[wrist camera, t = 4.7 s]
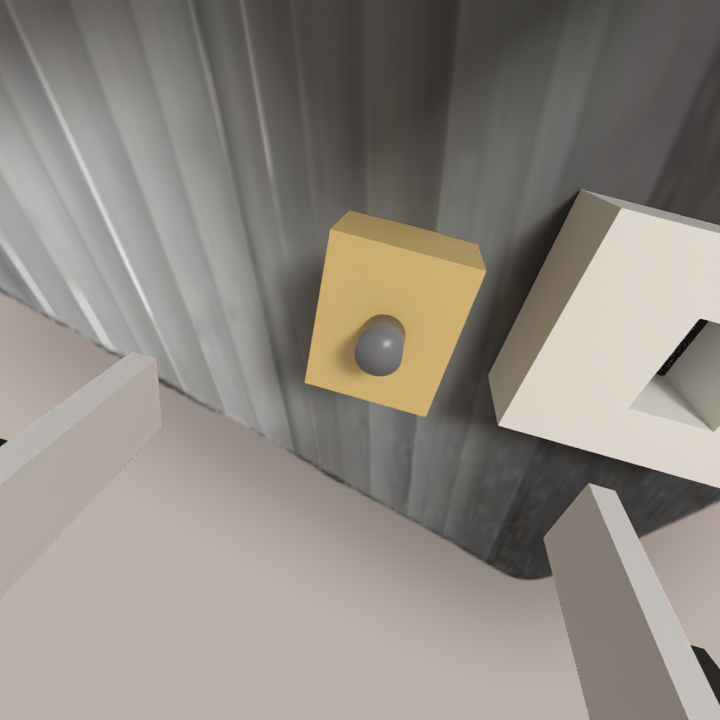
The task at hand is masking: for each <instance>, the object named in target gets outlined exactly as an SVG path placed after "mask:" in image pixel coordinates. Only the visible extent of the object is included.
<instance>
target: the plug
mask: <svg viewBox="0 0 720 720" xmlns="http://www.w3.org/2000/svg"><path fill="white" fill-rule="evenodd" d="M485 273H486V268H485V265H484V262H483V259H482V256H481V253H480V250H479V247H478V245H477V244H474V243H470V242H466V241H462V240H459V239H455V238H451V237H447V236H444V235H442V234H440V233H437V232H433V231H429V230H426V229H422V228H418V227H414V226H411V225H407V224H403V223H399V222H396V221H392V220H388V219H380V218H376V217H373V216H369V215H365V214H361V213H358V212H354V211H350V210H349V211H348V212H347V213H346V214H345V215H344V216H343V217H342V218H341V219H340V220H339V221H338V222H337V223H336V224H335V225H334V226H333V227H332V228H331V229H330V234H329V240H328V246H327V252H326V258H325V264H324V270H323V276H322V282H321V288H320V294H319V300H318V306H317V312H316V318H315V324H314V330H313V336H312V342H311V348H310V354H309V360H308V366H307V372H306V378H305V383H307V384H311V385H314V386H318V387H321V388H325V389H328V390H332V391H335V392H339V393H342V394H346V395H350V396H353V397H357V398H360V399H364V400H367V401H371V402H374V403H378V404H381V405H385V406H388V407H392V408H395V409H399V410H403V411H406V412H410V413H413V414H417V415H420V416H424V417H426V415H427V413H428V410H429V408H430V405H431V403H432V401H433V398H434V396H435V393H436V391H437V389H438V386H439V384H440V381H441V379H442V377H443V374H444V372H445V369H446V367H447V365H448V362H449V360H450V357H451V355H452V353H453V350H454V348H455V345H456V343H457V340H458V338H459V336H460V333H461V331H462V328H463V326H464V324H465V321H466V319H467V316H468V314H469V312H470V309H471V307H472V304H473V302H474V300H475V297H476V295H477V292H478V290H479V288H480V285H481V283H482V280H483V278H484V276H485Z"/></svg>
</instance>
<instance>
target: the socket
mask: <svg viewBox="0 0 720 720" xmlns="http://www.w3.org/2000/svg"><path fill="white" fill-rule="evenodd" d="M700 318H701V319H704V320H708V321H709V322H708V323H707V324H706V325H705V326H704V328H703V329H702V330H701V331H700V333H699V334H698V335H697V336H696V337H695V339H694V340H693V341H692V342H691V344H690V345H689V346H688V347H687V348H686V350H685V351H684V352H683V353H682V355H681V356H680V357H679V358H678V359H677V361H676V362H675V363H674V364H673V366H672V367H671V368H670V369H669V370H668V372H667V373H666V374H665V375H664V376H661V375H658V374H656V373H657V371H658V370H659V369H660V368H661V366H662V365H663V364H664V363H665V361H666V360H667V359H668V358H669V356H670V355H671V354H672V353H673V351H674V350H675V349H676V348H677V346H678V345H679V344H680V343H681V341H682V340H683V339H684V338H685V336H686V335H687V334H688V333H689V331H690V330H691V329H692V328H693V326H694V325H695V324H696V323H697V321H698V320H699V319H700ZM488 378H489V383H490V388H491V393H492V398H493V403H494V408H495V413H496V418H497V423H498V426H502V427H505V428H509V429H512V430H516V431H519V432H523V433H527V434H530V435H534V436H537V437H541V438H544V439H548V440H551V441H555V442H558V443H562V444H566V445H569V446H573V447H576V448H580V449H583V450H587V451H590V452H594V453H597V454H601V455H605V456H608V457H612V458H615V459H619V460H622V461H626V462H629V463H633V464H636V465H640V466H644V467H647V468H651V469H654V470H658V471H661V472H665V473H668V474H672V475H676V476H679V477H683V478H686V479H690V480H693V481H697V482H700V483H704V484H707V485H711V486H715V487H718V488H720V225H716V224H712V223H708V222H704V221H701V220H697V219H693V218H689V217H685V216H681V215H678V214H674V213H670V212H666V211H662V210H658V209H654V208H651V207H647V206H643V205H639V204H635V203H631V202H628V201H624V200H620V199H616V198H612V197H608V196H605V195H601V194H597V193H593V192H589V191H585V190H582V189H581V190H580V192H579V194H578V196H577V198H576V200H575V202H574V204H573V206H572V208H571V210H570V212H569V214H568V216H567V218H566V220H565V222H564V224H563V226H562V228H561V230H560V232H559V234H558V236H557V238H556V240H555V242H554V244H553V246H552V248H551V250H550V252H549V254H548V256H547V258H546V260H545V262H544V264H543V266H542V268H541V270H540V272H539V274H538V276H537V278H536V280H535V282H534V284H533V286H532V288H531V290H530V292H529V294H528V296H527V298H526V300H525V302H524V304H523V306H522V308H521V310H520V312H519V314H518V316H517V318H516V320H515V322H514V324H513V326H512V328H511V330H510V332H509V334H508V336H507V338H506V340H505V342H504V344H503V346H502V348H501V350H500V352H499V354H498V356H497V358H496V360H495V362H494V364H493V366H492V368H491V370H490V372H489V374H488Z"/></svg>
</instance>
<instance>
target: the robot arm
mask: <svg viewBox="0 0 720 720" xmlns="http://www.w3.org/2000/svg"><path fill="white" fill-rule="evenodd" d="M161 427H162V415H161V405H160V394H159V383H158V372H157V362H156V358H153V357H149V356H146V355H142V354H139V353H135V352H131V353H129V354H128V355H127V356H125V357H124V358H123V359H121V360H120V361H118V362H117V363H116V364H114V365H113V366H111V367H110V368H109V369H107V370H106V371H105V372H103V373H102V374H100V375H99V376H98V377H96V378H95V379H93V380H92V381H91V382H89V383H88V384H87V385H85V386H84V387H83V388H81V389H80V390H78V391H77V392H75V393H74V394H73V395H71V396H70V397H69V398H67V399H66V400H65V401H63V402H62V403H60V404H59V405H57V406H56V407H55V408H53V409H52V410H51V411H49V412H48V413H46V414H45V415H44V416H42V417H41V418H40V419H38V420H37V421H35V422H34V423H33V424H32V425H30V426H28V427H27V428H26V429H24V430H23V431H21V432H20V433H19V434H17V435H16V436H15V437H13V438H12V439H11V440H9V441H7V440H4V439H0V599H1V597H2V596H3V595H4V594H5V593H6V592H7V591H8V590H9V589H10V588H11V587H12V586H13V585H14V584H15V583H16V581H17V580H18V579H19V578H20V577H21V576H22V575H23V574H24V573H25V572H26V571H27V570H28V569H29V568H30V567H31V566H32V564H33V563H34V562H35V561H36V560H37V559H38V558H39V557H40V556H41V555H42V554H43V553H44V552H45V551H46V549H47V548H48V547H49V546H50V545H51V544H52V543H53V542H54V541H55V540H56V539H57V538H58V537H59V536H60V534H61V533H62V532H63V531H64V530H65V529H66V528H67V527H68V526H69V525H70V524H71V523H72V522H73V521H74V520H75V518H76V517H77V516H78V515H79V514H80V513H81V512H82V511H83V510H84V509H85V508H86V506H88V505H89V503H90V502H91V501H92V500H93V499H94V498H95V497H96V496H97V495H98V494H99V493H100V492H101V491H102V490H103V489H104V487H105V486H106V485H107V484H108V483H109V482H110V481H111V480H112V479H113V478H114V477H115V476H116V475H117V474H118V472H119V471H120V470H121V469H122V468H123V467H124V466H125V465H126V464H127V463H128V462H129V461H130V460H131V459H132V457H133V456H134V455H135V454H136V453H137V452H138V451H139V450H140V449H141V448H142V447H143V446H144V445H145V444H146V443H147V441H148V440H149V439H150V438H151V437H152V436H153V435H154V434H155V433H156V432H157V431H158V430H159V429H160V428H161ZM544 542H545V546H546V550H547V554H548V558H549V562H550V566H551V570H552V573H553V577H554V581H555V585H556V589H557V593H558V597H559V601H560V605H561V609H562V613H563V616H564V620H565V624H566V628H567V632H568V636H569V639H570V644H571V648H572V651H573V656H574V659H575V663H576V667H577V671H578V675H579V679H580V683H581V687H582V691H583V695H584V698H585V703H586V706H587V710H588V714H589V718H590V720H720V669H719V668H718V666H717V665H716V664H715V663H714V661H713V660H712V659H711V657H710V656H709V655H708V653H707V652H706V651H705V649H702V648H699V647H695V646H692V645H690V644H689V642H688V640H687V637H686V636H685V633H684V632H683V629H682V627H681V625H680V623H679V621H678V619H677V617H676V615H675V613H674V611H673V609H672V607H671V605H670V603H669V601H668V599H667V597H666V595H665V592H664V590H663V588H662V586H661V584H660V582H659V580H658V578H657V576H656V574H655V572H654V570H653V568H652V566H651V564H650V562H649V560H648V558H647V555H646V554H645V551H644V549H643V548H642V545H641V543H640V541H639V539H638V537H637V535H636V533H635V531H634V529H633V527H632V525H631V523H630V521H629V518H628V516H627V514H626V512H625V510H624V508H623V506H622V504H621V502H620V500H619V498H618V496H617V494H616V492H615V491H614V490H610V489H607V488H603V487H600V486H596V485H593V484H588V485H587V486H586V487H585V488H584V490H583V491H582V492H581V493H580V494H579V496H578V497H577V498H576V499H575V500H574V502H573V503H572V504H571V505H570V506H569V508H568V509H567V510H566V511H565V512H564V514H563V515H562V516H561V517H560V518H559V520H558V521H557V522H556V523H555V524H554V526H553V527H552V528H551V529H550V530H549V532H548V533H547V534H546V535H545V536H544Z"/></svg>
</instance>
